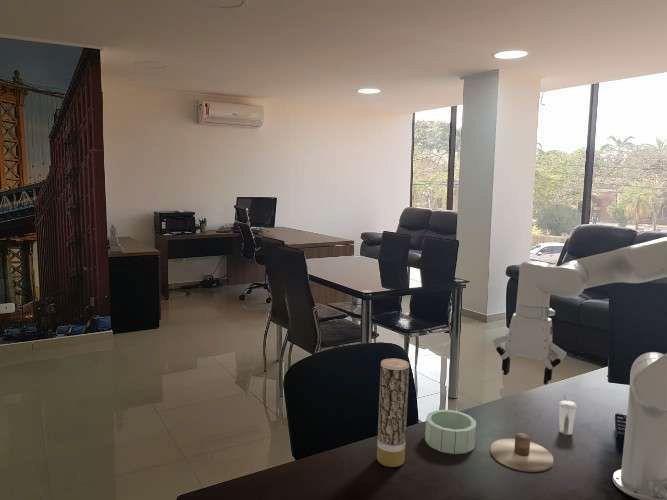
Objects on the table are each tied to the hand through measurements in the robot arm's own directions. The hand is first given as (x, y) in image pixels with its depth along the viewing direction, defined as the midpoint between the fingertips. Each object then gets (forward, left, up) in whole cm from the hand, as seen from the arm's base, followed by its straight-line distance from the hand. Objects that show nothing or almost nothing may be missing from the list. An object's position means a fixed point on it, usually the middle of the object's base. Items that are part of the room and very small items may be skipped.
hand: (525, 378), depth 131 cm
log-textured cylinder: (+3, +34, -21) cm, 40 cm away
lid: (0, 0, -21) cm, 21 cm away
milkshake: (+10, -20, -21) cm, 31 cm away
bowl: (+10, +15, -21) cm, 27 cm away
